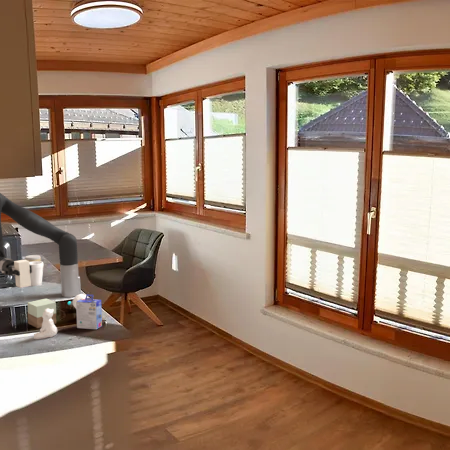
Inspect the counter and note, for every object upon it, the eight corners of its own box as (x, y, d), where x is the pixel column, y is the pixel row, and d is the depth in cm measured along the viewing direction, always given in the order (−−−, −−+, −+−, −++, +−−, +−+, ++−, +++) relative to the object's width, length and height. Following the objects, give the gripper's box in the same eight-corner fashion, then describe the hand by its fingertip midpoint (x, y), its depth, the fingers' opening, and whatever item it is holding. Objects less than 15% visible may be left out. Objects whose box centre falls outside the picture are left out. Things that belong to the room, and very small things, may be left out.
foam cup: (47, 283, 296) (46, 262, 295) (34, 287, 289) (33, 265, 287) (37, 281, 301) (36, 260, 300) (23, 285, 294) (22, 263, 292)
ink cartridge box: (102, 325, 226) (101, 294, 224) (97, 329, 221) (96, 297, 218) (82, 324, 228) (81, 293, 226) (76, 328, 223) (75, 296, 220)
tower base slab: (46, 319, 236) (46, 308, 235) (56, 323, 229) (55, 312, 229) (28, 323, 229) (27, 313, 228) (37, 328, 223) (36, 317, 222)
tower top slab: (46, 308, 235) (46, 298, 234) (56, 313, 229) (55, 302, 228) (28, 313, 228) (27, 302, 228) (37, 317, 222) (36, 306, 222)
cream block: (26, 283, 243) (24, 259, 241) (30, 285, 240) (29, 261, 238) (15, 285, 240) (14, 261, 238) (20, 287, 236) (18, 262, 234)
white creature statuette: (41, 331, 219) (40, 304, 217) (61, 331, 219) (60, 305, 217) (32, 339, 210) (31, 311, 208) (53, 339, 209) (51, 311, 208)
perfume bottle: (82, 306, 242) (61, 307, 245) (91, 312, 249) (70, 313, 252) (85, 291, 245) (64, 292, 249) (94, 297, 252) (73, 298, 255)
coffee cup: (38, 276, 313) (37, 257, 312) (23, 276, 313) (22, 257, 312) (44, 273, 323) (43, 254, 321) (29, 273, 323) (28, 254, 321)
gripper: (-7, 261, 243) (9, 267, 231) (22, 256, 253) (39, 261, 241) (-5, 276, 244) (10, 283, 232) (24, 271, 254) (40, 277, 242)
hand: (24, 272), depth 237 cm, fingers closed on cream block, 5 cm apart
